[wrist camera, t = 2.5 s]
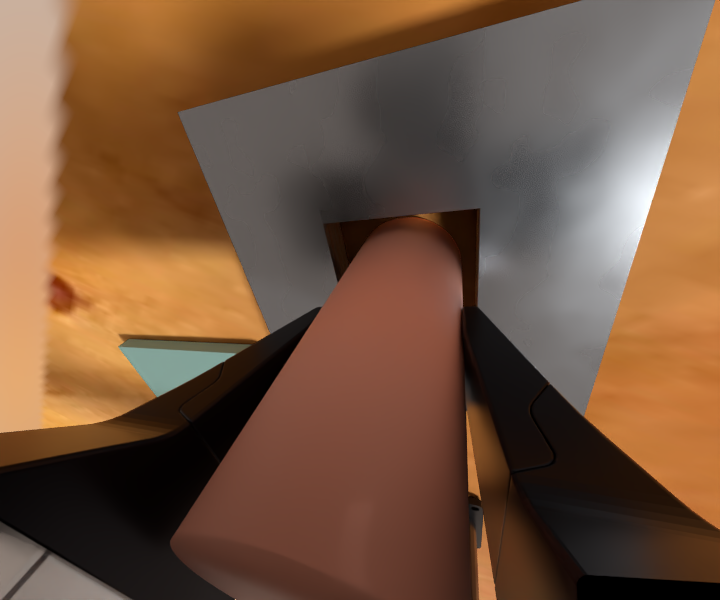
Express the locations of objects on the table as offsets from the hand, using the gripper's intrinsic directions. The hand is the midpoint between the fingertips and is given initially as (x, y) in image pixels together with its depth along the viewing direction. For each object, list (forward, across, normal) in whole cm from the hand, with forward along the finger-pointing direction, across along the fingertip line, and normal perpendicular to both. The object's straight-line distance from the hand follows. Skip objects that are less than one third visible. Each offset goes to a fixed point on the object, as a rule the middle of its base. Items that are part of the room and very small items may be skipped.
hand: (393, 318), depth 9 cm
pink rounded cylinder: (+4, 0, 0) cm, 4 cm away
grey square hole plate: (+4, 0, 0) cm, 4 cm away
